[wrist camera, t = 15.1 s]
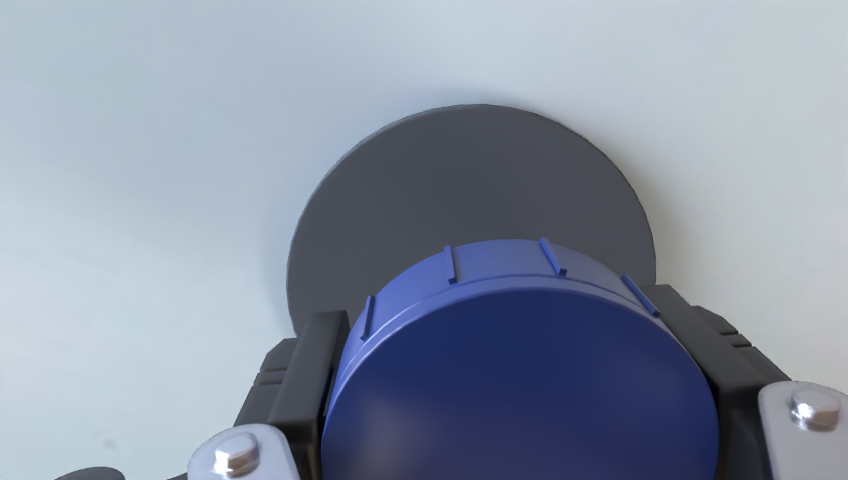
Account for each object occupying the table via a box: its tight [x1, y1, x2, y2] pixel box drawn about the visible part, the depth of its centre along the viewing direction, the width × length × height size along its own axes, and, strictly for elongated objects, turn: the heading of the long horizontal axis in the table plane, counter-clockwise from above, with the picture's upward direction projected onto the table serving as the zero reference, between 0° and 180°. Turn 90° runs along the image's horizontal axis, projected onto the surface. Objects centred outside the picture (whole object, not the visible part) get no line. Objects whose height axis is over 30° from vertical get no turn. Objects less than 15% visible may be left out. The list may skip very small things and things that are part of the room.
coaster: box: [286, 104, 656, 338], centre depth 14 cm, size 9×9×1 cm
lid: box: [320, 237, 720, 480], centre depth 9 cm, size 6×6×2 cm
